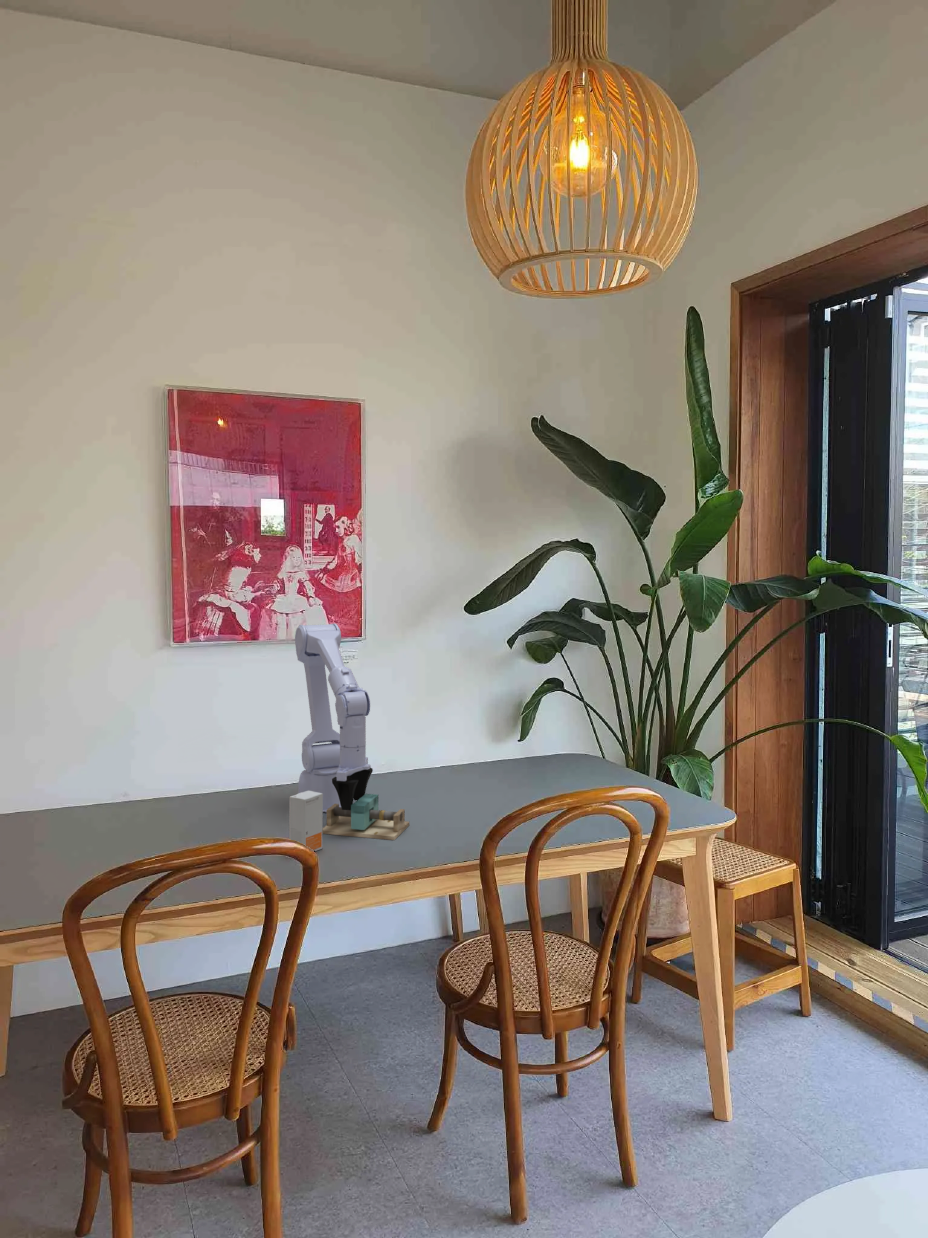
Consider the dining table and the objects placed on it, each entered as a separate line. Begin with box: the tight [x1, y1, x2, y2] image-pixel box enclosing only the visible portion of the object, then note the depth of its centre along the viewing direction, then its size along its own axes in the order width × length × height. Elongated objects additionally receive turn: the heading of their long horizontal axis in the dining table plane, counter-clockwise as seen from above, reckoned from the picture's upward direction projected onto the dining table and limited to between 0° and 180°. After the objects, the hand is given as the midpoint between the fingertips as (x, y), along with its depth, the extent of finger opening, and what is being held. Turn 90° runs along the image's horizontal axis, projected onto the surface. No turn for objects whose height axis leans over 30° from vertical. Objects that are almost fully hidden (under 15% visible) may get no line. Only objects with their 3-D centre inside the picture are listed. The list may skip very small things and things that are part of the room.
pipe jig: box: [322, 804, 410, 841], centre depth 217 cm, size 17×11×5 cm, turn 76°
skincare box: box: [288, 791, 324, 852], centre depth 202 cm, size 6×4×12 cm
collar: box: [351, 793, 379, 830], centre depth 217 cm, size 3×10×5 cm, turn 166°
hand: (352, 805), depth 218 cm, fingers open, 7 cm apart
